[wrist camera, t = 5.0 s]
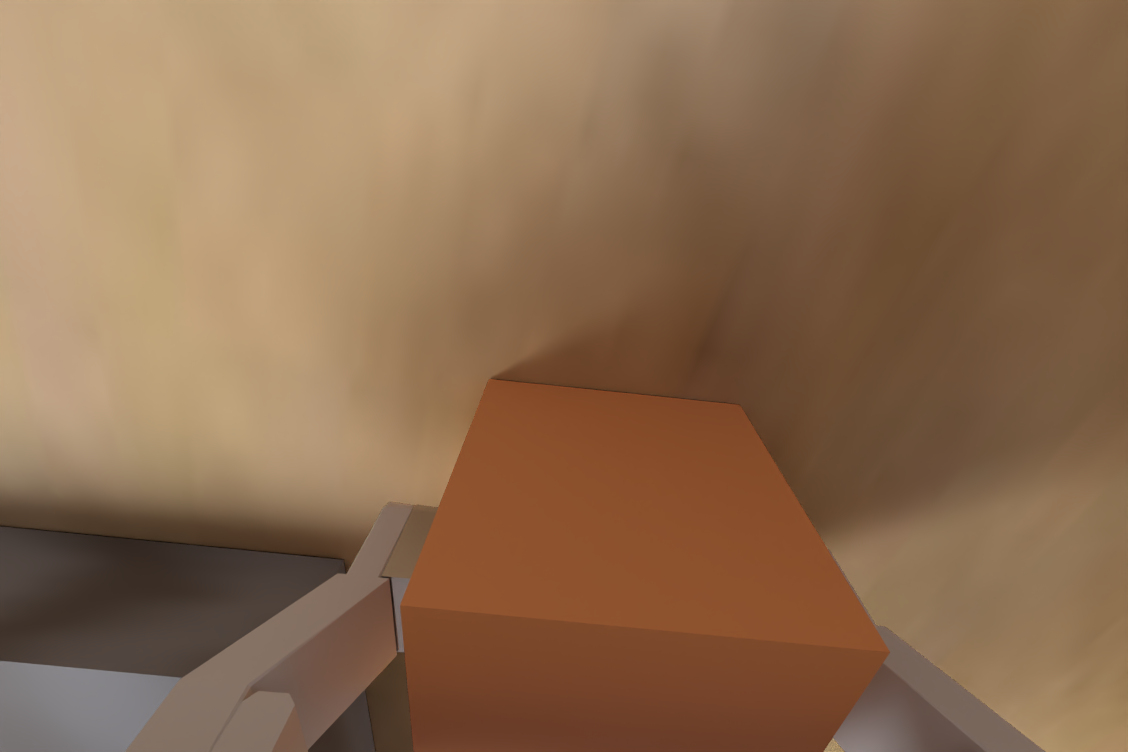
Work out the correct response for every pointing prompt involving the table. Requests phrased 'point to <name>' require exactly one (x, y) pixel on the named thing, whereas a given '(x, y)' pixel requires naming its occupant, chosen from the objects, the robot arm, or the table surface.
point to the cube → (626, 587)
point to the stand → (131, 632)
